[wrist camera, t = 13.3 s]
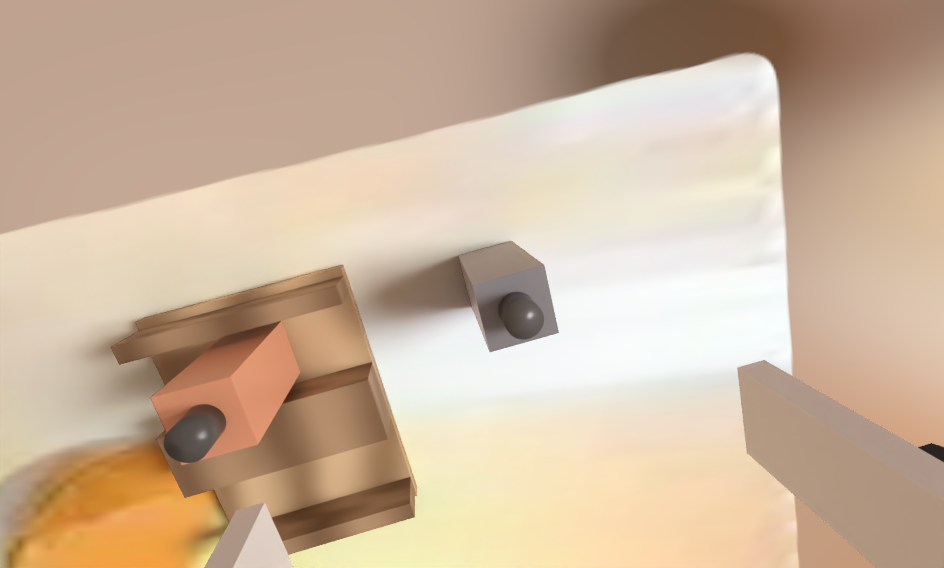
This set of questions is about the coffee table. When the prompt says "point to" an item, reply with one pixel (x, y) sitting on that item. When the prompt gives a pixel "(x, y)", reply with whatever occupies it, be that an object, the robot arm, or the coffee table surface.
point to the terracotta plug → (227, 394)
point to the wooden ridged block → (296, 413)
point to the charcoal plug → (508, 295)
